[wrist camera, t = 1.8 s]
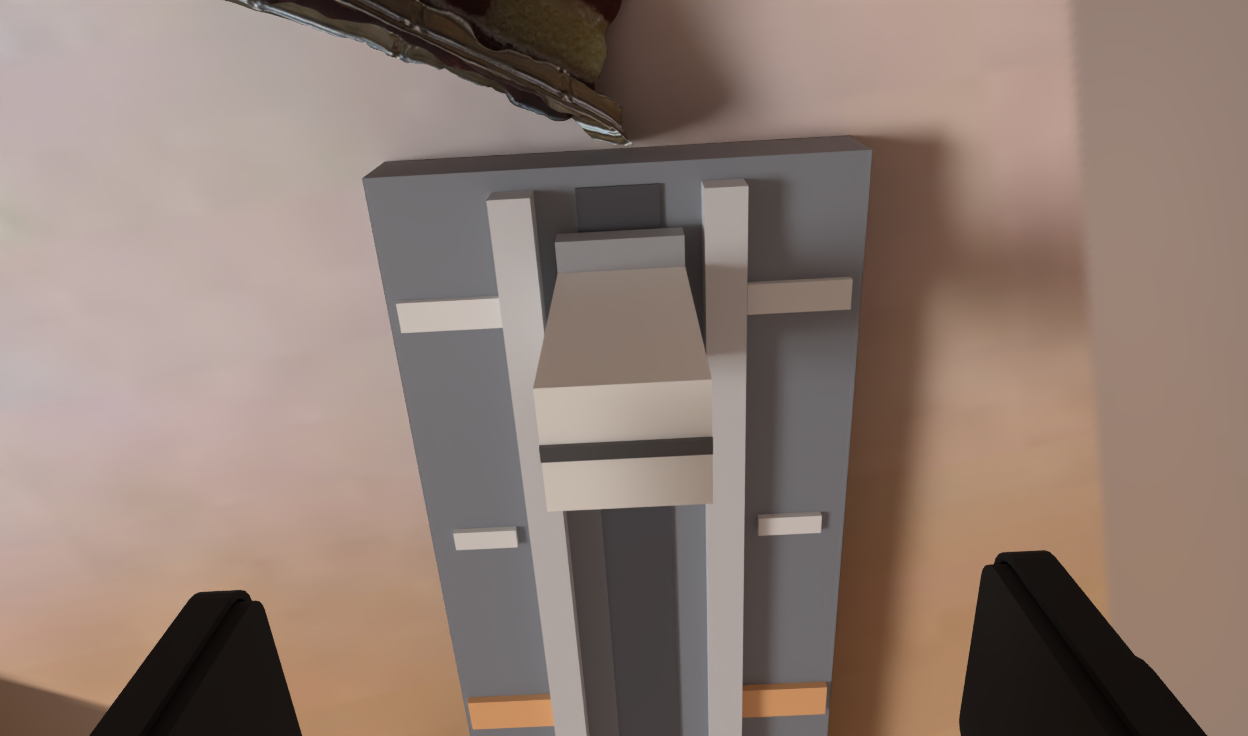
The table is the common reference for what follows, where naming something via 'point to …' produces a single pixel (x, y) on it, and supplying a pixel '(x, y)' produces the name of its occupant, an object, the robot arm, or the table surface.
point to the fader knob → (623, 376)
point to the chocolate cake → (487, 46)
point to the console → (641, 536)
